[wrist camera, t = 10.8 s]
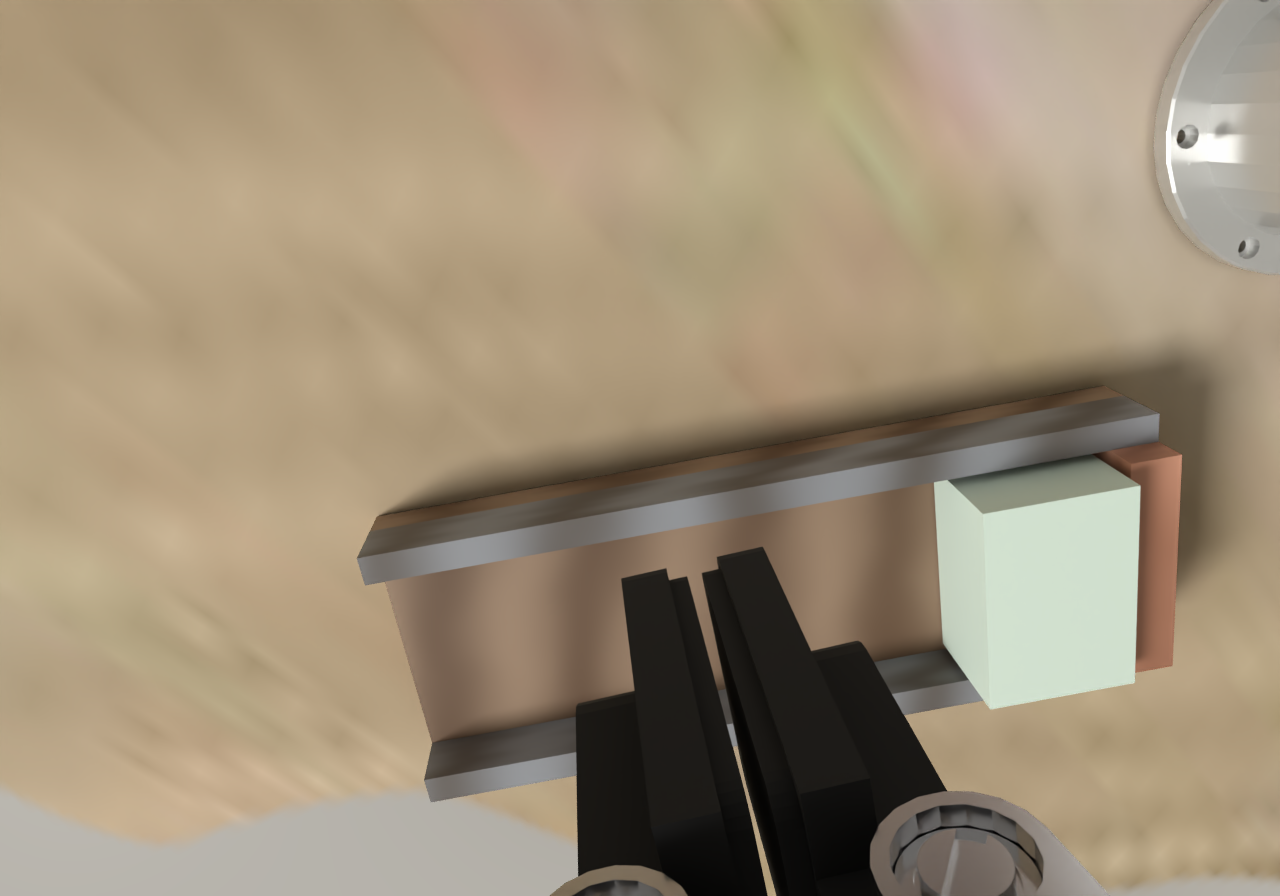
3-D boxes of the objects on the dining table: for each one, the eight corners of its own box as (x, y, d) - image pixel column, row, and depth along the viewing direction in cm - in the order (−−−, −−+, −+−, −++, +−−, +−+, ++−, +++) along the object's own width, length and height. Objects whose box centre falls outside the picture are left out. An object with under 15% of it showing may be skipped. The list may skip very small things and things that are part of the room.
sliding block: (1071, 441, 39) (1140, 485, 34) (1071, 619, 42) (1134, 682, 37) (932, 466, 39) (983, 514, 34) (942, 643, 42) (990, 709, 37)
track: (1103, 385, 40) (1183, 425, 35) (1100, 622, 44) (1171, 689, 39) (376, 516, 39) (348, 576, 34) (442, 743, 44) (425, 827, 38)
